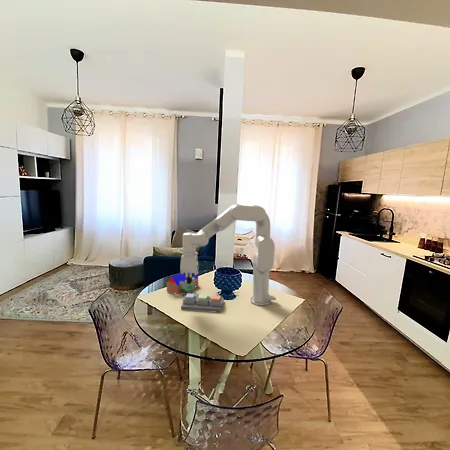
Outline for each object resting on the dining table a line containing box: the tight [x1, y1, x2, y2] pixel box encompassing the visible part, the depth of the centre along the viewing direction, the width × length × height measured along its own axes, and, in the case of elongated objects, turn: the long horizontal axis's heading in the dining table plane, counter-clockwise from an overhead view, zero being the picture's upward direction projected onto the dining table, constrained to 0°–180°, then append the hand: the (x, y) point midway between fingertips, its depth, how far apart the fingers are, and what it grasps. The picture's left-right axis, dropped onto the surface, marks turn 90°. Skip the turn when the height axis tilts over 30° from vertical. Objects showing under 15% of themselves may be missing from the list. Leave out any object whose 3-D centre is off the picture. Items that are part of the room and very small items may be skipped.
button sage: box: [197, 293, 209, 301], centre depth 152 cm, size 5×5×2 cm
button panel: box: [180, 294, 225, 313], centre depth 152 cm, size 23×14×4 cm, turn 81°
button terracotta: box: [210, 294, 222, 302], centre depth 151 cm, size 5×5×2 cm
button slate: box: [184, 293, 196, 300], centre depth 153 cm, size 5×5×2 cm
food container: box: [179, 276, 195, 296], centre depth 169 cm, size 12×6×10 cm, turn 143°
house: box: [166, 272, 199, 295], centre depth 178 cm, size 12×20×12 cm, turn 142°
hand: (189, 283), depth 152 cm, fingers closed
